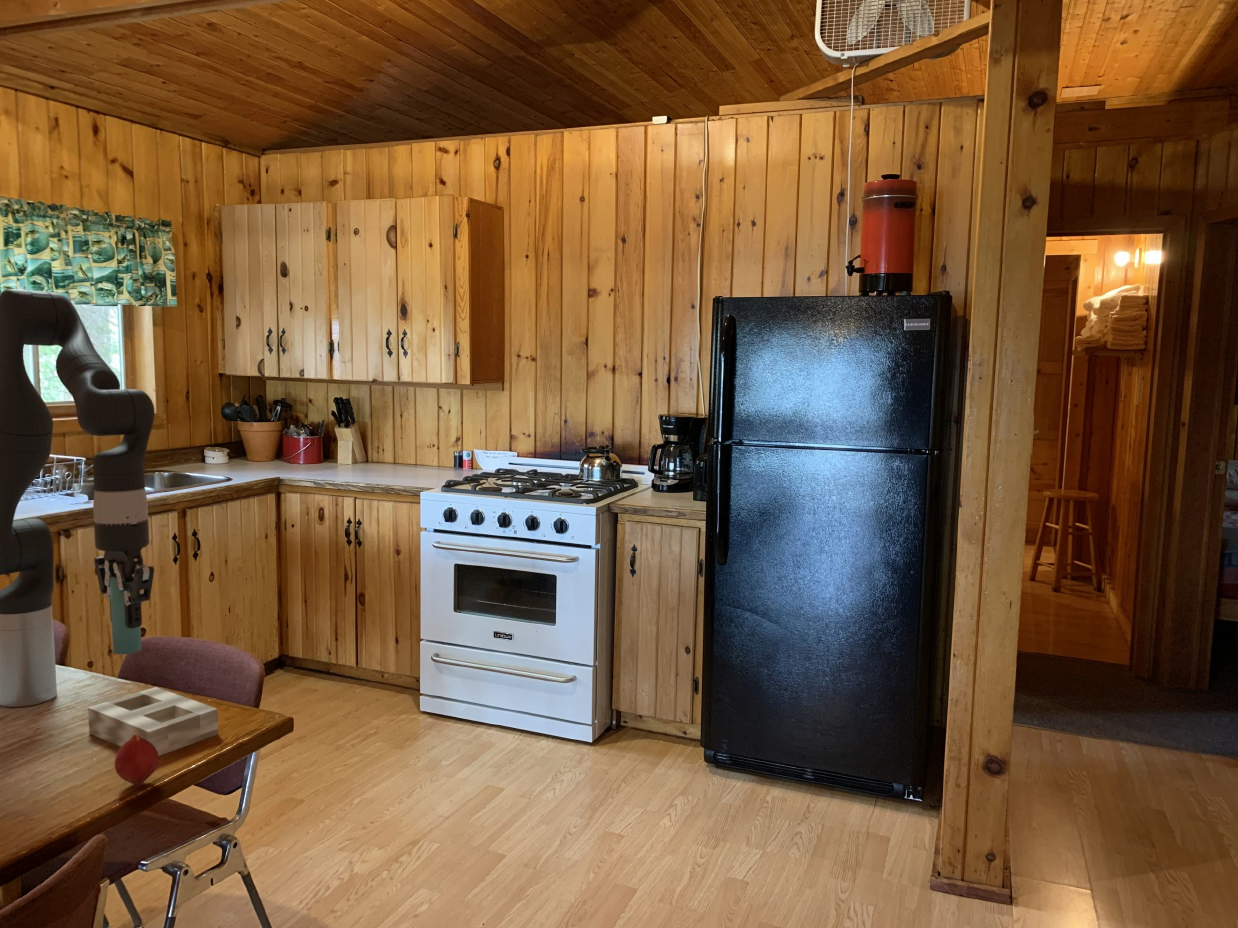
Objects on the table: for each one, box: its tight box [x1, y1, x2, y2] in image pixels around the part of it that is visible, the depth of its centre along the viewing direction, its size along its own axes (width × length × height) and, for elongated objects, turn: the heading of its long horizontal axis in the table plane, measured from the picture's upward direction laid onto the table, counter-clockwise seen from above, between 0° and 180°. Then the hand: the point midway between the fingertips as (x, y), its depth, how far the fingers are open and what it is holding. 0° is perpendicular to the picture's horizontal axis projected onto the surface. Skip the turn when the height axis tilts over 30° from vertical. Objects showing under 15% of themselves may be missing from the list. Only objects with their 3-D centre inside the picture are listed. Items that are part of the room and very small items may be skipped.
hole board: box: [87, 686, 219, 757], centre depth 159 cm, size 18×12×4 cm, turn 57°
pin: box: [109, 577, 142, 655], centre depth 149 cm, size 4×4×12 cm
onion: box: [114, 734, 160, 787], centre depth 140 cm, size 6×6×8 cm
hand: (126, 624), depth 150 cm, fingers closed on pin, 4 cm apart
